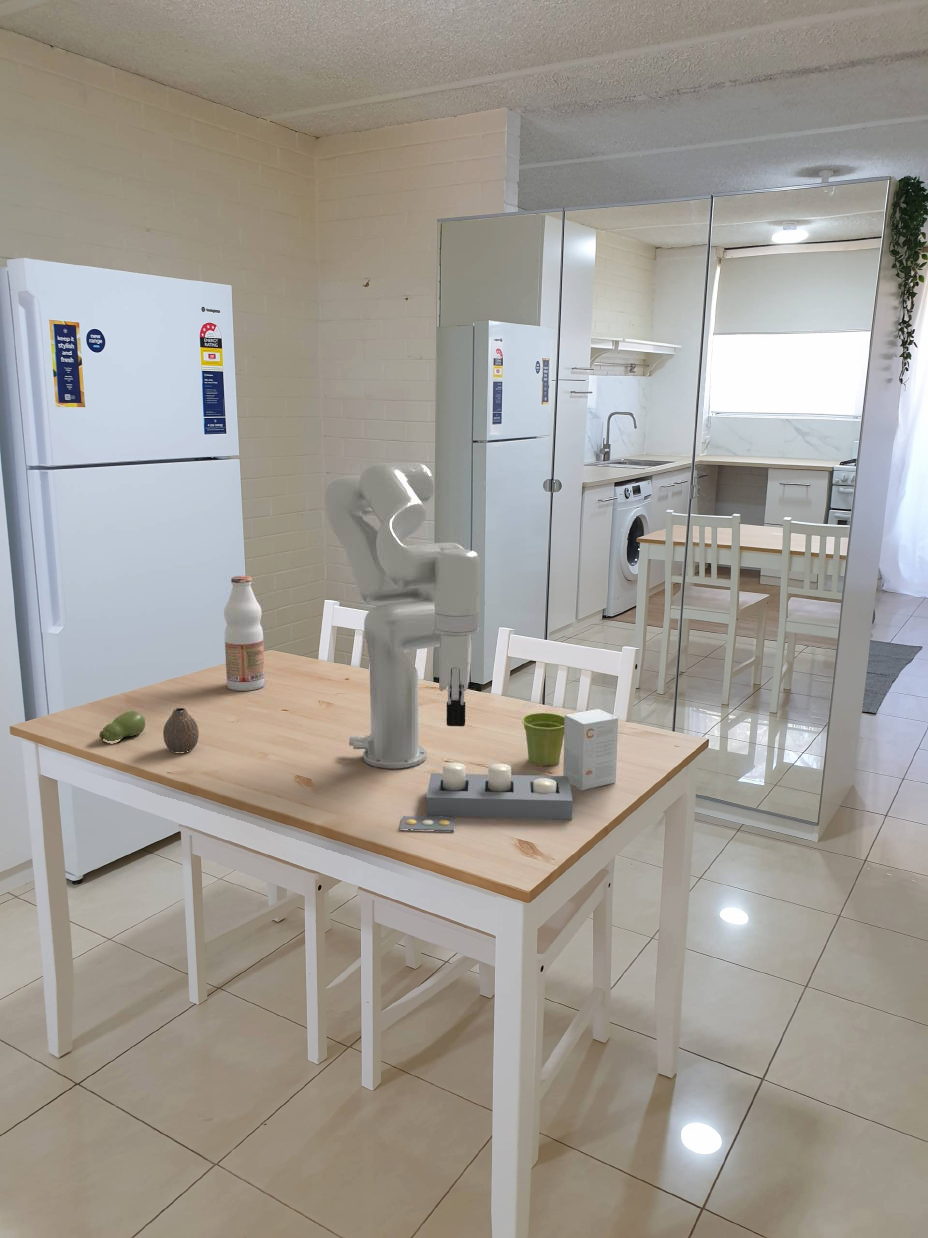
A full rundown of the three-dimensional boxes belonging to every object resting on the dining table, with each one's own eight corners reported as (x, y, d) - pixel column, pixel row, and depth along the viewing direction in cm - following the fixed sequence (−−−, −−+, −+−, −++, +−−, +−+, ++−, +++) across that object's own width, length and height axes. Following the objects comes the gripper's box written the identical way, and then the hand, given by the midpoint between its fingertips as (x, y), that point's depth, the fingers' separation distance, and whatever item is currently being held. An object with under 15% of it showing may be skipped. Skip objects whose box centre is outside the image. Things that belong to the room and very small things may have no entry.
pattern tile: (399, 831, 156) (399, 828, 156) (402, 818, 161) (402, 815, 161) (453, 832, 156) (453, 829, 156) (455, 819, 161) (455, 816, 161)
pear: (147, 710, 201) (108, 730, 193) (152, 732, 202) (113, 752, 195) (131, 705, 204) (91, 724, 196) (136, 727, 205) (97, 747, 198)
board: (426, 816, 162) (426, 797, 161) (431, 791, 173) (431, 773, 172) (572, 819, 161) (572, 800, 160) (567, 794, 172) (568, 776, 171)
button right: (533, 806, 165) (533, 786, 164) (532, 796, 168) (533, 778, 168) (556, 806, 164) (556, 787, 164) (555, 797, 168) (555, 778, 168)
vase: (184, 742, 197) (182, 702, 195) (206, 749, 193) (204, 708, 192) (157, 751, 192) (154, 710, 190) (179, 758, 188) (176, 717, 186)
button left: (442, 790, 165) (442, 770, 164) (443, 781, 168) (443, 762, 168) (465, 790, 164) (465, 771, 164) (465, 782, 168) (466, 763, 168)
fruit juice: (223, 691, 233) (217, 580, 227) (231, 681, 242) (226, 573, 236) (261, 691, 233) (256, 580, 227) (268, 681, 242) (264, 573, 236)
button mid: (487, 791, 164) (488, 771, 164) (488, 782, 168) (488, 763, 167) (510, 791, 164) (511, 772, 163) (510, 782, 168) (510, 764, 167)
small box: (596, 772, 183) (598, 708, 180) (616, 783, 177) (619, 717, 174) (561, 779, 179) (563, 714, 176) (581, 791, 173) (583, 723, 171)
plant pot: (575, 758, 190) (576, 717, 188) (555, 773, 182) (556, 730, 180) (533, 750, 194) (534, 709, 192) (512, 764, 186) (513, 722, 185)
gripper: (437, 612, 167) (436, 710, 171) (432, 632, 153) (431, 739, 157) (479, 613, 167) (478, 711, 171) (478, 633, 153) (476, 740, 157)
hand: (455, 724), depth 164 cm, fingers closed
